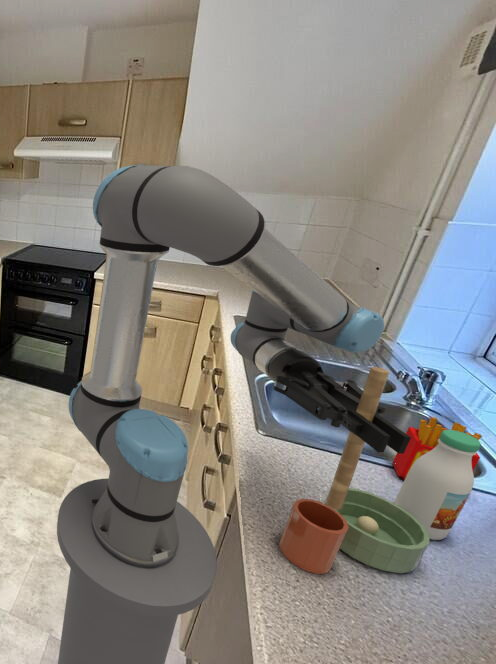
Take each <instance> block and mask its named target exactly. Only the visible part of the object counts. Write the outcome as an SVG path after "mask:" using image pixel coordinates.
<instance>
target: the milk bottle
mask: <svg viewBox="0 0 496 664" xmlns="http://www.w3.org/2000/svg"><path fill="white" fill-rule="evenodd" d="M465 433H466V432H459V431H455V430H451V429H448V430H444V431H443V432H442V433H441V435H440V439H438V442H439V444H438V445H437V446H436V447H435V448H434V449H432V450H431V451H429V452H428V453H426V454H424V455H422V456H421V457H419V458H418V459H417V460H416V461H415V463H414V464H413V465H412V467H411V469H410V471H409V472H408V474H407V476H406V478H405V480H403V482H402V485H401V487H400V489H399V491H398V493H397V495H396V496H395V498H394V501H393V503H394V504H396V505H398V506H400V507H401V508H403V509H404V510H406V511H407V512H408V513H410V514H411V515H412V516H414V517H415V518H416V519H417V520H418V521H419V522H420V523H421V524H422V525H423V526H424V527H425V529H426V530H427V532H428V534H429V536H430V540H433V541H440V540H443V539H446V538H447V536H448V535H449V533H450V532H451V530H452V529H453V526H454V525H455V523H456V521H457V519H458V518H459V515H460V514H461V512H462V510H463V508H464V506H465V504H466V502H467V501H468V500H469V497H470V495H471V494H472V493H471V492H472V491H473V487H474V483H475V476H474V470H473V471H472V464H471V462H472V456H473V455H476V452H477V453H478V451H479V450H480V448H481V446H482V443H481V442H480V440H479V441H478V440H477V439H476V438H474V437H472V436H470V435H468V434H465Z"/></svg>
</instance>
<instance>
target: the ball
mask: <svg viewBox="0 0 496 664" xmlns="http://www.w3.org/2000/svg"><path fill="white" fill-rule="evenodd" d="M356 524H357V527H358V528H359V529H361V530H363V531H364V532H366V533H369V534H375V533H377V532H378V530H379V526H378V524H377V522H376V521H375V520H374V519H372V518H370V517H368V516H361V517H359V518H358V519H357V521H356Z"/></svg>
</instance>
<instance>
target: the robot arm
mask: <svg viewBox="0 0 496 664" xmlns="http://www.w3.org/2000/svg"><path fill="white" fill-rule="evenodd" d="M92 213H93V218H94V220H96V223H97V224H98V225H99V227H101V229H100V237H99V248H101V249H102V251H103V252H104V253H105V255H106V257H105V258H106V259H105V265H104V272H103V280H102V286H101V294H100V301H99V309H98V314H97V316H98V317H97V321H96V330H95V336H94V344H93V351H92V358H91V365H90V366H91V367H90V371H88V372H87V373H85V374H84V375H83V376H82V377H81V380H80V381H79V382H77V386H76V387H73V389H72V390H71V392H70V395H69V398H68V413H69V416H70V418H71V420H72V422H73V423H74V425H75V427H76V428H77V431H79V432H81V434H82V435H83V436H84V438H85V440H87V442H88V443H89V444H90V445H91V446H92V447H93V449H94V450H95V451H96V452H97V453H98V455H99V457H100V458H101V459H102V460H103V461H104V462H105V464H106V466H107V467H108V469H109V474H108V478H109V479H108V486H107V489H106V491H105V492H104V493H103V495H102V496H101V498H100V499H93V500H92V503H96V506H95V508H94V510H93V516H92V529H93V532H94V535H95V537H96V539H97V540H98V542H99V543H100V544H101V546H102V547H103V548H104V549H105V550H106V551H107V552H108V553H110V554H111V555H112V556H114V557H115V558H117V559H118V560H120V561H122V562H124V563H126V564H129V565H132V566H135V567H140V568H158V567H161V566H164V565H166V564H168V563H169V562H170V561H171V560H172V559H173V558H174V556H175V555H176V552H177V548H178V544H179V534H178V529H177V523H176V518H175V512H174V510H175V506H176V502H178V498H179V494H180V491H181V487H182V484H183V479H184V476H185V471H186V469H187V465H188V453H189V442H188V438H187V437H186V434H185V433H184V431H183V430H182V429H181V427H180V426H179V425H178V424H177V423H176V422H175V421H173V420H172V419H170V418H169V417H168V416H166V415H164V414H157V411H154V410H151V409H144V408H140V404H141V400H142V393H143V388H142V386H141V384H140V383H139V382H138V380H137V375H138V368H139V363H140V358H141V353H142V349H143V348H142V347H143V342H144V338H145V337H144V336H145V330H146V325H147V320H148V319H147V318H148V314H149V309H150V303H151V298H152V293H153V287H154V281H155V276H156V271H157V266H158V261H159V260H160V259H161V258H162V257H164V256H165V255H167V254H168V253H169V252H170V249H175V250H177V251H180V252H183V253H186V254H189V255H191V256H193V257H195V258H197V259H199V260H201V261H202V262H203V263H205V264H206V265H208V266H210V267H212V268H213V267H215V268H223V269H225V270H226V271H227V272H229V273H230V274H231V275H233V276H234V277H235V278H236V279H238V280H239V281H241V282H242V283H243V284H245V285H246V286H247V287H249V288H250V289H251V296H250V299H249V304H248V308H247V311H246V315H245V320H243V322H241V323H238V324H237V325H236V327H234V329H233V330H232V331H231V334H230V343H231V345H232V347H233V348H234V350H235V351H237V353H238V354H239V355H240V356H241V357H243V358H244V359H246V360H247V361H249V362H250V363H251V364H253V365H254V366H255V367H256V369H258V370H260V371H261V372H262V373H263V374H264V375H265V376H267V377H268V378H269V379H270V380H271V381H272V382H273V383H274V385H273V388H272V390H274V391H275V392H278V393H280V394H281V395H283V396H286V397H287V398H289V399H290V400H291V401H292V402H294V403H295V404H297V405H298V406H299V407H301V408H303V409H304V410H306V411H307V412H308V413H310V414H312V416H315V417H316V418H317V419H319V420H321V421H326V420H327V419H329V420H331V422H330V426H331V427H334V428H340V427H341V425H342V427H344V428H345V429H347V430H348V431H349V432H350V431H351V432H353V433H354V434H355V435H357V436H358V437H359V438H361V439H362V440H363V441H364V442H365V444H367V445H368V446H369V447H371V448H372V449H373V450H374V451H376V452H377V453H384V452H385V450H386V448H387V447H389V448H390V449H391V450H393V451H394V452H395V453H396V454H397V453H401V454H404V452H405V450H406V448H407V445H408V443H409V441H410V439H411V437H410V436H408V435H407V434H406V432H404V431H402V430H401V429H400V428H398V427H397V426H395V425H394V424H393V423H391V422H390V421H388V420H387V419H386V418H384V415H385V414H386V411H387V408H386V407H385V406H383V404H381V403H379V404H378V406H377V409H376V412H375V415H374V418H373V421H372V422H370V421H369V420H367V419H366V418H365V417H363V416H362V415H360V414H359V413H357V412H356V411H357V408H358V405H359V402H360V399H361V396H362V393H363V390H364V389H362V388H360V387H359V385H357V382H356V381H355V380H353V379H346V381H343V382H342V381H337V380H336V378H334V377H333V376H331V375H328V374H326V373H325V372H324V369H323V368H322V365H321V363H320V362H319V361H318V360H317V359H315V358H314V357H312V356H311V355H310V354H308V353H306V352H304V351H303V350H302V349H300V348H298V347H297V346H295V345H294V344H292V343H290V342H289V341H287V340H286V339H285V337H286V334H287V331H288V329H290V330H292V331H295V332H298V333H301V334H303V335H306V336H308V337H311V338H313V339H315V340H318V341H320V342H324V343H326V344H328V345H330V346H333V347H334V348H336V349H341V350H343V351H347V352H349V353H351V354H352V353H354V354H360V353H364V352H366V351H369V350H370V349H371V348H372V347H374V346H375V345H376V343H377V342H379V339H380V338H381V337H382V335H383V333H384V331H385V330H384V329H385V320H384V318H383V316H382V315H381V314H380V313H378V312H375V311H372V310H371V309H368V308H367V307H365V306H363V307H362V306H361V307H360V306H357V305H354V304H353V303H351V302H350V301H348V299H346V298H345V297H344V296H342V294H340V293H339V292H338V291H337V290H336V289H335V288H334V287H332V286H331V285H330V284H329V283H328V281H326V280H325V279H324V278H322V277H321V276H320V275H319V274H318V273H316V271H314V270H313V269H312V268H311V267H310V266H309V265H308V264H307V263H305V262H304V261H303V260H302V259H301V258H299V256H297V255H296V254H295V253H294V252H293V251H292V250H290V249H289V247H287V245H285V244H284V243H283V242H282V241H280V240H279V239H278V238H277V237H276V236H275V235H273V234H272V233H271V232H270V231H269V230H268V229H267V228H266V219H265V217H264V215H263V214H262V213H261V211H260V210H258V209H257V208H256V207H255V206H254V205H252V204H251V202H250V201H248V200H247V199H246V198H245V197H243V196H242V195H241V194H239V192H237V191H236V190H234V189H233V188H232V187H230V186H229V185H228V184H226V183H225V182H224V181H222V180H220V179H219V178H217V177H216V176H214V175H213V174H211V173H208V172H206V171H204V170H202V169H200V168H197V167H192V166H190V165H151V164H150V165H149V164H148V165H147V164H143V163H141V164H133V165H128V166H127V165H126V166H123V167H120V168H117V169H115V170H113V171H112V172H111V173H109V174H108V175H107V176H106V177H105V178H104V179H103V180H102V181H101V182H100V184H99V185H98V187H97V189H96V192H95V194H94V197H93V200H92Z"/></svg>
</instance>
